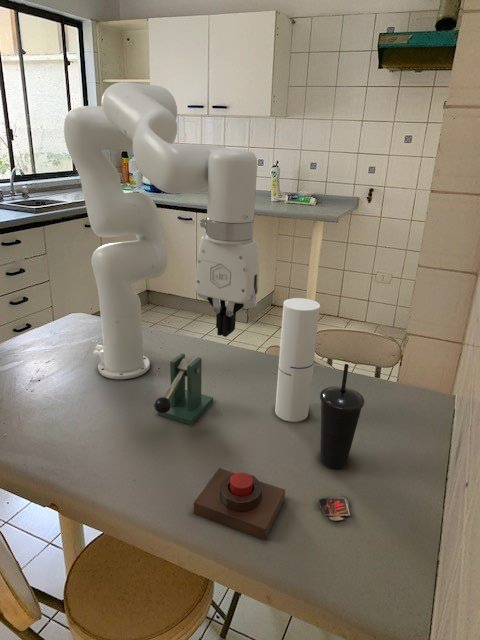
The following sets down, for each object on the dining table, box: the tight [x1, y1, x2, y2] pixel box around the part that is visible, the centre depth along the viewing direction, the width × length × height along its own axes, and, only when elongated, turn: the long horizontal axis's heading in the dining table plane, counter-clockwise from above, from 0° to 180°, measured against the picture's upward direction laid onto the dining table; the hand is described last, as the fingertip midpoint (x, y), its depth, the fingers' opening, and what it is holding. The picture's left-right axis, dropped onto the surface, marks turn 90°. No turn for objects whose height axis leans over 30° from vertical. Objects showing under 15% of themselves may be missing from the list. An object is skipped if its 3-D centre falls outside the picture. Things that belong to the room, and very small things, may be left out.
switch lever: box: [153, 357, 194, 414], centre depth 93 cm, size 13×3×3 cm, turn 156°
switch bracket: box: [157, 352, 214, 426], centre depth 98 cm, size 10×8×12 cm
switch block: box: [193, 467, 286, 541], centre depth 74 cm, size 12×9×4 cm
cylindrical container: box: [274, 297, 321, 423], centre depth 96 cm, size 7×7×25 cm
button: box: [230, 472, 253, 497], centre depth 73 cm, size 4×4×2 cm
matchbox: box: [318, 497, 351, 522], centre depth 74 cm, size 5×5×1 cm
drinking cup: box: [319, 363, 366, 470], centre depth 82 cm, size 8×8×20 cm
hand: (225, 333), depth 82 cm, fingers closed
